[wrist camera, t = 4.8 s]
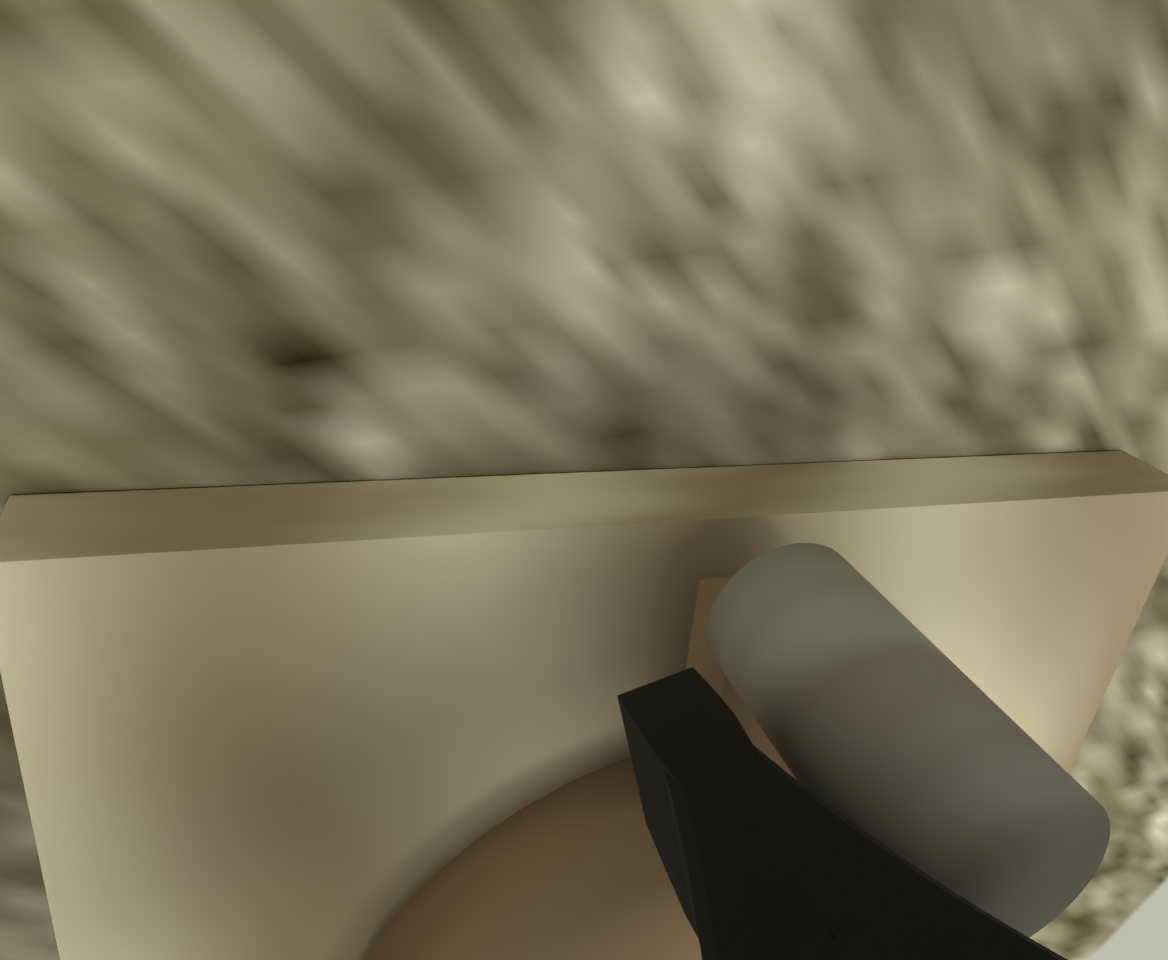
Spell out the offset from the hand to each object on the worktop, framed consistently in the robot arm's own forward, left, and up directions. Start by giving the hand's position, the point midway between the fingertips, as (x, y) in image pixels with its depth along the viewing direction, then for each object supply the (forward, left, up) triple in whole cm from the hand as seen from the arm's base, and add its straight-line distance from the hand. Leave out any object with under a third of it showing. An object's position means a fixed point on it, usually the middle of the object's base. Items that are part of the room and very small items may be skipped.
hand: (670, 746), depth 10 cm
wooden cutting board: (+2, -8, -4) cm, 9 cm away
